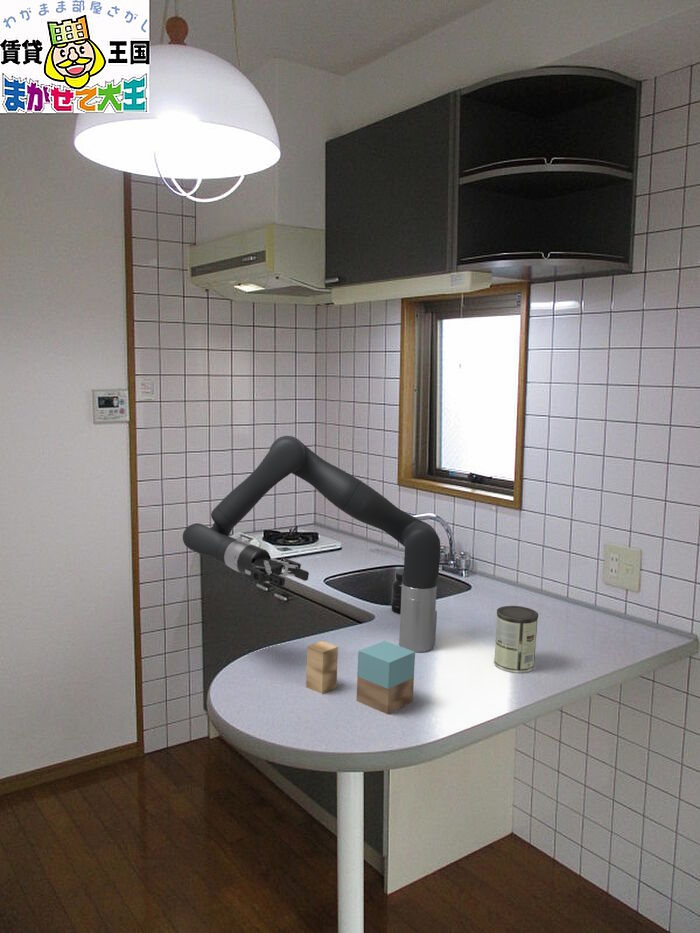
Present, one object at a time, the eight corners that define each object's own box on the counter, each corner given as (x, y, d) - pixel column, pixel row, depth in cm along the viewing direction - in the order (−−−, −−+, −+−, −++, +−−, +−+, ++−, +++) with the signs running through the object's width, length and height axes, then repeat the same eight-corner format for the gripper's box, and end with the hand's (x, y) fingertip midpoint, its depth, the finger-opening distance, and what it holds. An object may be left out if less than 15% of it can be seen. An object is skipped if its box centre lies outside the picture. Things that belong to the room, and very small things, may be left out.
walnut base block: (381, 689, 182) (382, 665, 181) (412, 702, 176) (413, 677, 175) (356, 701, 175) (357, 676, 174) (387, 715, 169) (388, 689, 168)
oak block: (320, 681, 185) (322, 640, 183) (336, 687, 182) (338, 646, 180) (306, 687, 181) (307, 646, 180) (321, 694, 178) (323, 652, 176)
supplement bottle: (399, 605, 242) (401, 568, 240) (417, 611, 237) (419, 573, 236) (386, 611, 236) (388, 572, 235) (404, 616, 232) (406, 577, 230)
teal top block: (383, 665, 181) (384, 640, 180) (413, 677, 175) (415, 651, 174) (357, 676, 174) (358, 650, 173) (388, 689, 168) (389, 662, 167)
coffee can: (501, 654, 206) (504, 602, 204) (539, 663, 201) (543, 610, 199) (487, 666, 197) (490, 613, 195) (527, 676, 192) (531, 621, 190)
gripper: (228, 548, 187) (277, 569, 177) (268, 540, 198) (317, 560, 189) (224, 578, 188) (273, 600, 179) (264, 568, 199) (312, 589, 190)
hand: (295, 579), depth 184 cm, fingers open, 8 cm apart
